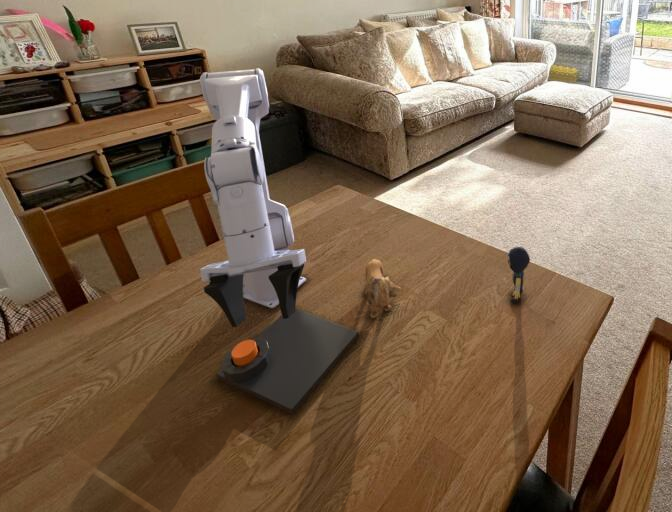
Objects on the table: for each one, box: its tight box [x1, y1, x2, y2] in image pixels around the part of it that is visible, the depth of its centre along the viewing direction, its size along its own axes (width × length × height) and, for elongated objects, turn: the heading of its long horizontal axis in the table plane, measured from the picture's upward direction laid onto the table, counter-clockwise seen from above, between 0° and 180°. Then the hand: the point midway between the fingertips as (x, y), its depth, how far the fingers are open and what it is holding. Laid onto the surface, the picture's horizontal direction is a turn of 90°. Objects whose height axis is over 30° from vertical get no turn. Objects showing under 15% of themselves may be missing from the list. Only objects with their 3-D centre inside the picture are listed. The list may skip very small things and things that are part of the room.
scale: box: [215, 308, 360, 415], centre depth 65 cm, size 15×14×3 cm
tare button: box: [231, 339, 258, 366], centre depth 62 cm, size 3×3×2 cm
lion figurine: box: [364, 258, 402, 319], centre depth 75 cm, size 15×5×9 cm, turn 33°
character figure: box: [507, 246, 531, 304], centre depth 76 cm, size 9×4×12 cm, turn 178°
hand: (264, 319), depth 60 cm, fingers open, 7 cm apart
